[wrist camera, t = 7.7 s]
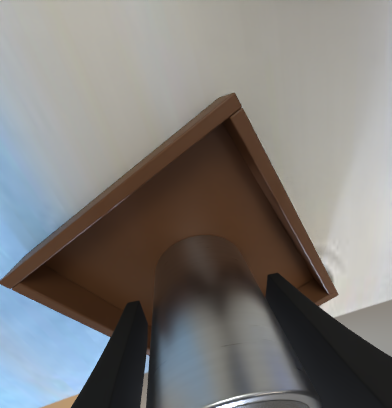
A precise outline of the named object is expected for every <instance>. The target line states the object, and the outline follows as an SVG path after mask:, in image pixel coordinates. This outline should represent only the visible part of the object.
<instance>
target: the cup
mask: <svg viewBox="0 0 392 408" xmlns="http://www.w3.org/2000/svg"><path fill="white" fill-rule="evenodd" d="M321 406H322V404H321V401H320V398H319V396H318V394H317V392H316V391H315V389H314V387H313V385H312V383H311V381H310V380H309V378H308V376H307V374H306V372H305V370H304V369H303V367H302V365H301V363H300V361H299V359H298V357H297V356H296V354H295V352H294V350H293V348H292V346H291V345H290V343H289V341H288V339H287V337H286V335H285V334H284V332H283V330H282V328H281V326H280V324H279V323H278V321H277V319H276V317H275V315H274V313H273V312H272V310H271V308H270V306H269V304H268V302H267V300H266V299H265V297H264V295H263V293H262V291H261V289H260V288H259V286H258V284H257V282H256V280H255V278H254V277H253V275H252V273H251V271H250V269H249V267H248V266H247V264H246V262H245V260H244V258H243V256H242V255H241V253H240V251H239V250H238V248H237V247H236V246H235V245H234V244H233V243H231V242H230V241H228V240H226V239H224V238H221V237H218V236H212V235H199V236H193V237H189V238H186V239H183V240H181V241H179V242H177V243H176V244H174V245H172V246H171V247H170V248H169V249H167V250H166V251H165V252H164V254H163V255H162V256H161V258H160V259H159V261H158V263H157V266H156V270H155V282H154V297H153V313H152V328H151V343H150V358H149V373H148V389H147V403H146V408H321Z"/></svg>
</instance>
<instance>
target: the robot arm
mask: <svg viewBox="0 0 392 408" xmlns="http://www.w3.org/2000/svg"><path fill="white" fill-rule="evenodd" d="M265 299H266V300H267V302H268V304H269V306H270V308H271V310H272V312H273V313H274V315H275V317H276V319H277V321H278V323H279V324H280V326H281V328H282V330H283V332H284V334H285V335H286V337H287V339H288V341H289V343H290V345H291V346H292V348H293V350H294V352H295V354H296V356H297V357H298V359H299V361H300V363H301V365H302V367H303V369H304V370H305V372H306V374H307V376H308V378H309V380H310V381H311V383H312V385H313V387H314V389H315V391H316V392H317V394H318V396H319V398H320V401H321V404H322V406H321V408H392V357H391V356H389V355H387V354H385V353H384V352H382V351H381V350H379V349H378V348H376V347H374V346H373V345H372V344H370V343H369V342H367V341H366V340H364V339H362V338H361V337H360V336H358V335H357V334H355V333H354V332H352V331H351V330H349V329H348V328H346V327H345V326H344V325H342V324H341V323H340V322H338V321H337V320H335V319H334V318H333V317H332V316H330V315H329V314H328V313H326V312H325V311H324V310H322V309H321V308H320V307H319V306H317V305H316V304H315V303H314V302H312V301H311V300H310V299H309V298H307V297H306V296H305V295H304V294H302V293H301V292H300V291H299V290H298V289H297V288H295V287H294V286H293V285H292V284H291V283H290V282H288V281H287V280H286V279H285V278H284V277H283V276H281V275H280V274H279V273H274V274H269V275H268V276H267V286H266V295H265ZM147 340H148V322H147V320H146V317H145V314H144V312H143V309H142V306H141V304H140V301H134V302H129V303H127V304H126V306H125V308H124V311H123V313H122V315H121V317H120V319H119V321H118V324H117V326H116V328H115V330H114V332H113V334H112V336H111V338H110V340H109V342H108V344H107V346H106V348H105V349H104V351H103V353H102V355H101V357H100V359H99V361H98V362H97V364H96V366H95V368H94V370H93V371H92V373H91V375H90V377H89V378H88V380H87V382H86V384H85V385H84V387H83V389H82V390H81V392H80V394H79V395H78V397H77V399H76V400H75V402H74V403H73V405H72V407H71V408H140V402H141V395H142V387H143V378H144V370H145V362H146V353H147Z"/></svg>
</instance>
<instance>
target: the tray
mask: <svg viewBox="0 0 392 408" xmlns="http://www.w3.org/2000/svg"><path fill="white" fill-rule="evenodd" d="M199 235H212V236H218V237H221V238H224V239H226V240H228V241H230V242H231V243H233V244H234V245H235V246H236V247H237V248H238V250H239V251H240V253H241V255H242V256H243V258H244V260H245V262H246V264H247V266H248V267H249V269H250V271H251V273H252V275H253V277H254V278H255V280H256V282H257V284H258V286H259V288H260V289H261V291H262V293H263V295H264V297H265V295H266V286H267V276H268V275H269V274H274V273H279V274H280V275H281V276H283V277H284V278H285V279H286V280H287V281H288V282H290V283H291V284H292V285H293V286H294V287H295V288H297V289H298V290H299V291H300V292H301V293H302V294H304V295H305V296H306V297H307V298H309V299H310V300H311V301H312V302H314V303H315V304H316V305H317V306H319V305H321V304H323V303H325V302H327V301H329V300H330V299H332V298H334V297H336V296H338V293H337V291H336V289H335V287H334V285H333V283H332V281H331V279H330V277H329V275H328V273H327V271H326V269H325V267H324V266H323V264H322V262H321V260H320V258H319V256H318V254H317V252H316V250H315V248H314V246H313V244H312V242H311V240H310V238H309V236H308V234H307V232H306V230H305V229H304V227H303V225H302V223H301V221H300V219H299V217H298V215H297V213H296V211H295V209H294V207H293V205H292V203H291V201H290V199H289V197H288V195H287V193H286V191H285V190H284V188H283V186H282V184H281V182H280V180H279V178H278V176H277V174H276V172H275V170H274V168H273V166H272V164H271V162H270V160H269V158H268V156H267V154H266V153H265V151H264V149H263V147H262V145H261V143H260V141H259V139H258V137H257V135H256V133H255V131H254V129H253V127H252V125H251V123H250V121H249V119H248V117H247V115H246V114H245V112H244V110H243V108H241V104H240V102H239V100H238V98H237V96H236V94H235V93H232V94H229V95H225V96H222V97H219V98H218V99H217V100H215V101H214V102H213V103H212V104H211V105H209V106H208V107H207V108H206V109H204V110H203V111H202V112H201V113H200V114H198V115H197V116H196V117H195V118H193V119H192V120H191V121H190V122H188V123H187V124H186V125H185V126H184V127H182V128H181V129H180V130H179V131H177V132H176V133H175V134H174V135H173V136H171V137H170V138H169V139H168V140H166V141H165V142H164V143H163V144H161V145H160V146H159V147H158V148H157V149H155V150H154V151H153V152H152V153H150V154H149V155H148V156H147V157H145V158H144V159H143V160H142V161H141V162H139V163H138V164H137V165H136V166H134V167H133V168H132V169H131V170H130V171H128V172H127V173H126V174H125V175H123V176H122V177H121V178H120V179H118V180H117V181H116V182H115V183H114V184H112V185H111V186H110V187H109V188H107V189H106V190H105V191H104V192H102V193H101V194H100V195H99V196H98V197H96V198H95V199H94V200H93V201H91V202H90V203H89V204H88V205H87V206H85V207H84V208H83V209H82V210H80V211H79V212H78V213H77V214H75V215H74V216H73V217H72V218H71V219H69V220H68V221H67V222H66V223H64V224H63V225H62V226H61V227H60V228H58V229H57V230H56V231H55V232H53V233H52V234H51V235H50V236H48V237H47V238H46V239H45V240H44V241H42V242H41V243H40V244H39V245H37V246H36V247H35V248H34V249H32V250H31V251H30V252H29V253H28V254H26V255H25V256H24V257H23V258H22V260H20V261H19V262H18V263H17V264H16V265H15V266H14V267H13V268H12V269H11V270H10V271H9V272H8V273H7V274H6V275H5V276H4V277H3V278H2V279H1V280H0V284H1V285H3V286H5V287H7V288H9V289H11V288H12V290H13V291H16V292H18V293H20V294H22V295H24V296H26V297H28V298H30V299H32V300H34V301H36V302H38V303H41V304H43V305H45V306H47V307H49V308H51V309H53V310H55V311H57V312H59V313H61V314H63V315H66V316H68V317H70V318H72V319H74V320H76V321H78V322H80V323H82V324H84V325H86V326H88V327H91V328H93V329H95V330H97V331H99V332H101V333H103V334H105V335H107V336H109V337H111V336H112V334H113V332H114V330H115V328H116V326H117V324H118V321H119V319H120V317H121V315H122V313H123V311H124V308H125V306H126V304H127V303H129V302H134V301H140V304H141V306H142V309H143V312H144V314H145V317H146V320H147V322H148V340H147V353H146V354H147V355H149V356H150V343H151V328H152V313H153V297H154V282H155V270H156V266H157V263H158V261H159V259H160V258H161V256H162V255H163V254H164V252H165V251H166V250H167V249H169V248H170V247H171V246H172V245H174V244H176V243H177V242H179V241H181V240H183V239H186V238H189V237H193V236H199Z"/></svg>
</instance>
